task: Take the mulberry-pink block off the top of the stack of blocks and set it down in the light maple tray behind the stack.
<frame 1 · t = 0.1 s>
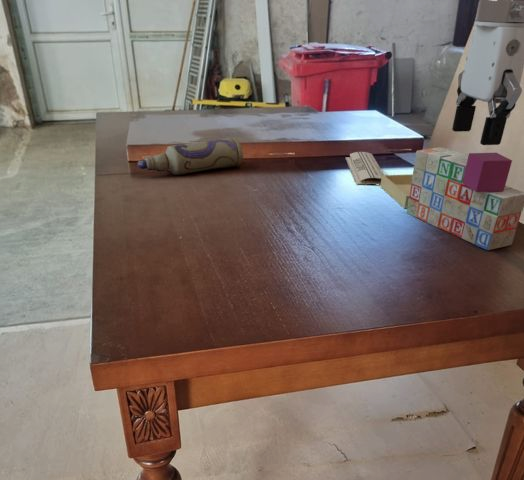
hand: (474, 137, 86), 17 cm above the table, tool pointing down, fingers open, 9 cm apart
decorative bottle: (192, 171, 128), on the table
stack of blocks: (455, 229, 99), on the table, touching mulberry block
tray: (415, 196, 114), on the table
mulberry block: (482, 187, 89), point 9 cm above the table, touching stack of blocks
newspaper: (364, 171, 130), on the table
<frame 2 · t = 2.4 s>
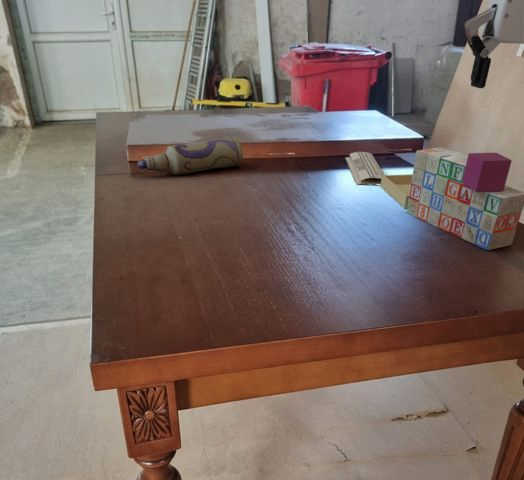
hand: (506, 87, 80), 25 cm above the table, tool pointing down, fingers open, 9 cm apart
nothing on the table moved.
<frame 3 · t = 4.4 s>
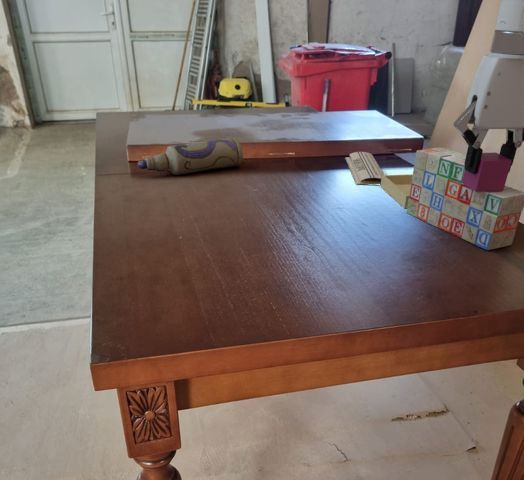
hand: (486, 170, 87), 12 cm above the table, tool pointing down, fingers closed on mulberry block, 5 cm apart
mulberry block: (482, 186, 89), point 9 cm above the table, touching gripper, stack of blocks
everything else where it was.
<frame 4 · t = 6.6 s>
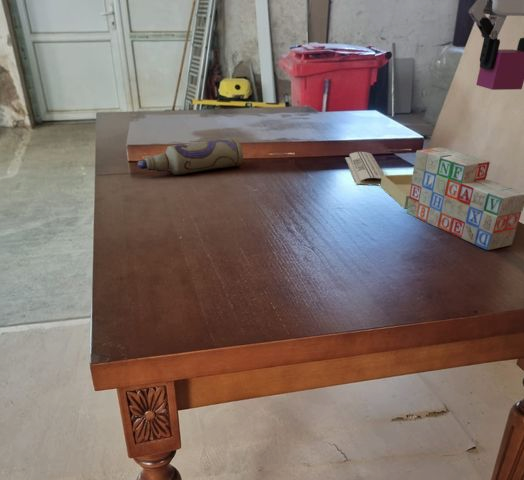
hand: (503, 67, 81), 27 cm above the table, tool pointing down, fingers closed on mulberry block, 5 cm apart
stack of blocks: (455, 229, 99), on the table
mulberry block: (498, 87, 83), point 24 cm above the table, touching gripper
everything else where it was.
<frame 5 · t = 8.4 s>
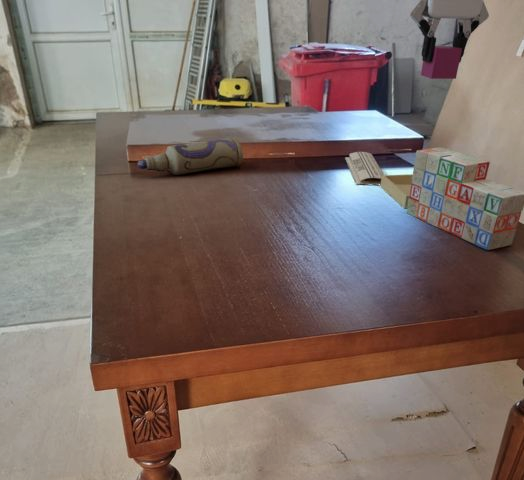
hand: (441, 60, 99), 26 cm above the table, tool pointing down, fingers closed on mulberry block, 5 cm apart
mulberry block: (438, 76, 101), point 23 cm above the table, touching gripper
everything else where it was.
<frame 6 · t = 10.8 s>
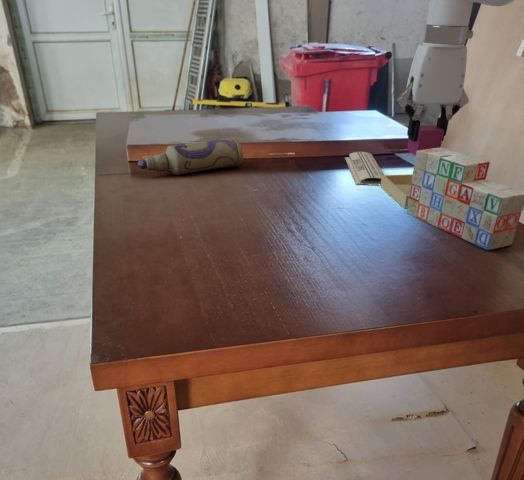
hand: (425, 138, 108), 12 cm above the table, tool pointing down, fingers closed on mulberry block, 5 cm apart
mulberry block: (422, 152, 109), point 9 cm above the table, touching gripper
everything else where it was.
when the fingers open (3 cm above the table, at t = 12.6 s): mulberry block stays where it is, resting on tray.
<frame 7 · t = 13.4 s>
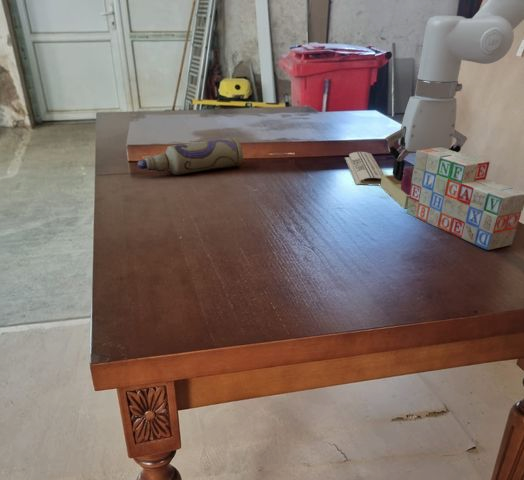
hand: (419, 178, 112), 4 cm above the table, tool pointing down, fingers open, 9 cm apart
mulberry block: (415, 193, 114), point 1 cm above the table, touching tray
everything else where it was.
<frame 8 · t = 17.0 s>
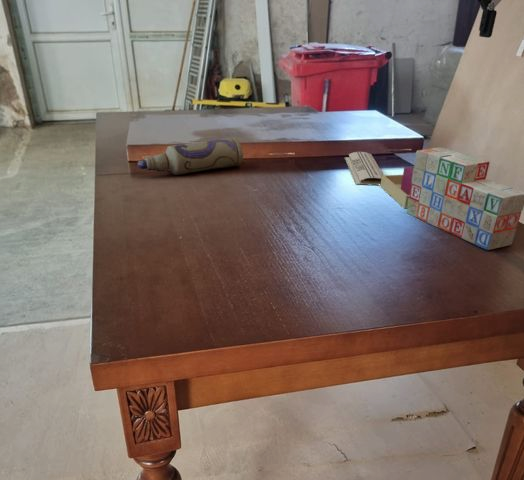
hand: (510, 37, 94), 30 cm above the table, tool pointing down, fingers open, 9 cm apart
nothing on the table moved.
at the end: mulberry block inside the target area in the tray (0.2 cm from its centre), point 0.6 cm above the tray's base; the gripper is holding nothing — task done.
